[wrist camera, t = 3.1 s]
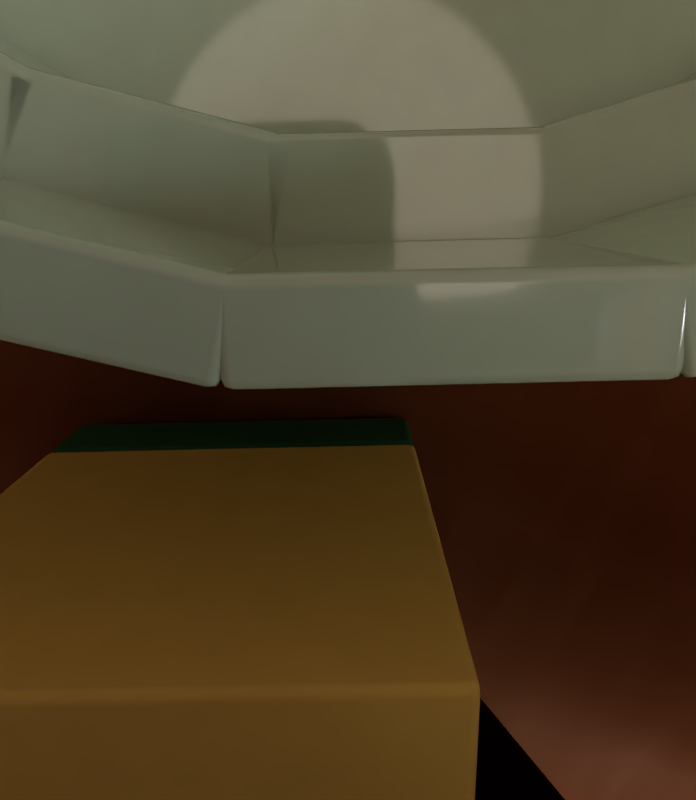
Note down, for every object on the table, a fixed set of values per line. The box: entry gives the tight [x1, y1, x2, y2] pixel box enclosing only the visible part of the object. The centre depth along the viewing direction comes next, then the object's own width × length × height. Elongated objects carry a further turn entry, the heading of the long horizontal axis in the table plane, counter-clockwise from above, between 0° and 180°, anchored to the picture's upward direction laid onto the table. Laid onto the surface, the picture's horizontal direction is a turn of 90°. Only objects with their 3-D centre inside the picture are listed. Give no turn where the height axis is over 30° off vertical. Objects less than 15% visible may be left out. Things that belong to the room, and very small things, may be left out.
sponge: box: [0, 418, 481, 800], centre depth 7 cm, size 4×7×5 cm, turn 1°
